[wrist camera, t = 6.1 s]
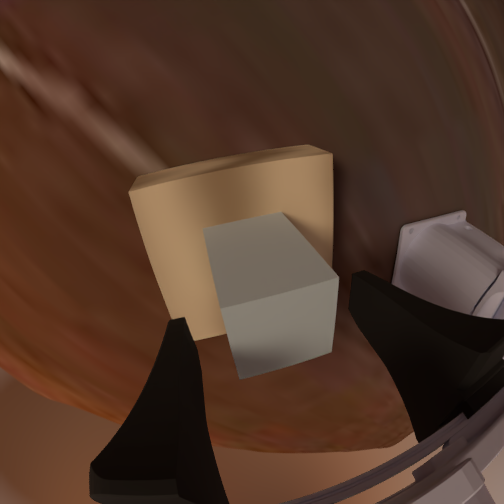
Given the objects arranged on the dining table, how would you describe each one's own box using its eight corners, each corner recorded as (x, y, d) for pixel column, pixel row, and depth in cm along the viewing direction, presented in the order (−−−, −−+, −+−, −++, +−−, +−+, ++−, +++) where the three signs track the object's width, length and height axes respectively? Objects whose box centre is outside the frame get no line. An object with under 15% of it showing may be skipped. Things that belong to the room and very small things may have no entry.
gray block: (281, 211, 14) (339, 277, 9) (285, 275, 16) (331, 351, 11) (202, 228, 14) (220, 308, 9) (217, 292, 16) (239, 379, 11)
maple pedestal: (308, 144, 16) (332, 153, 13) (312, 280, 21) (329, 304, 18) (137, 176, 14) (128, 192, 12) (180, 312, 19) (182, 343, 17)
